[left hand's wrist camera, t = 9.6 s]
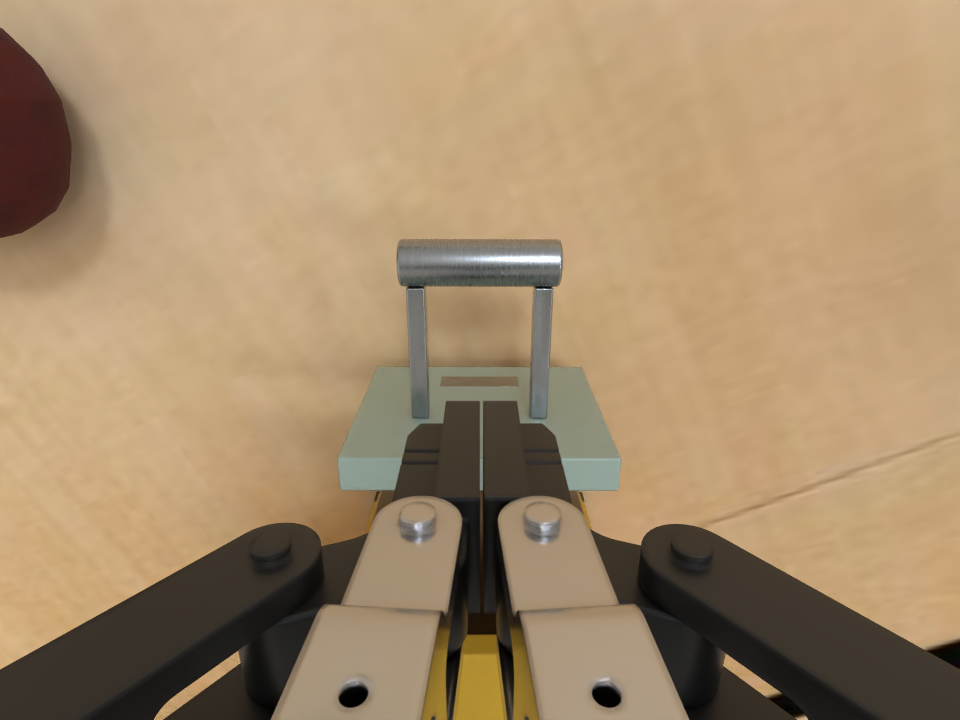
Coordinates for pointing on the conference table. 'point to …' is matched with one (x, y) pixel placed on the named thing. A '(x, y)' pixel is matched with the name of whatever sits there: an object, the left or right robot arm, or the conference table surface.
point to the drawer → (478, 379)
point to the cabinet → (479, 669)
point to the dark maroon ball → (29, 141)
